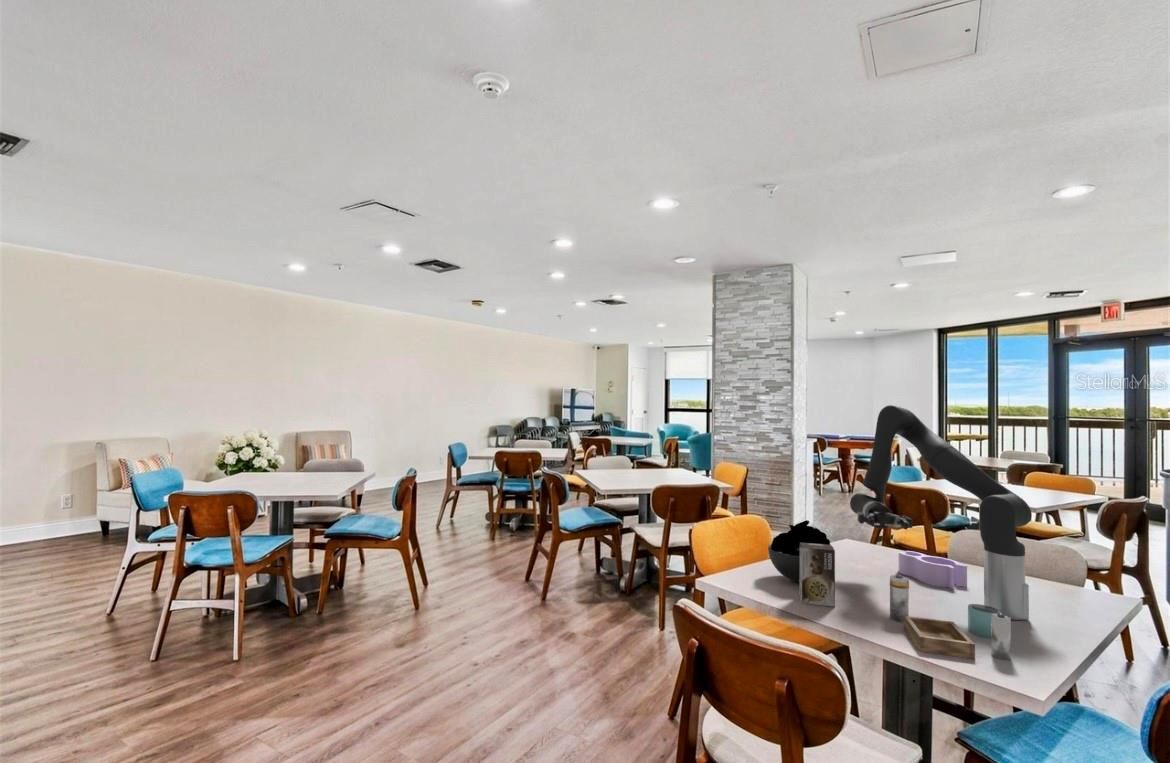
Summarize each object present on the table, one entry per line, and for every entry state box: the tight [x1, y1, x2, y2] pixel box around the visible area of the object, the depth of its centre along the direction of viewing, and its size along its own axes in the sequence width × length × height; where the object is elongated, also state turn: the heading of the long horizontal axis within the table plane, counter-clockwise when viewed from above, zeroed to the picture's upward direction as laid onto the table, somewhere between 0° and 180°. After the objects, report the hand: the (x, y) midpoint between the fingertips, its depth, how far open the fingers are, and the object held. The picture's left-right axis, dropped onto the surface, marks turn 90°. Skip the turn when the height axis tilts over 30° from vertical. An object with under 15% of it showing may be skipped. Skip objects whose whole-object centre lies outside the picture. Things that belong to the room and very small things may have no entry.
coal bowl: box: [767, 519, 831, 583], centre depth 178 cm, size 20×20×19 cm
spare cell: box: [990, 613, 1012, 661], centre depth 126 cm, size 4×4×10 cm
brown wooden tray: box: [903, 615, 976, 660], centre depth 132 cm, size 11×14×3 cm
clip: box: [898, 550, 968, 590], centre depth 185 cm, size 20×12×7 cm, turn 24°
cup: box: [967, 603, 1002, 639], centre depth 140 cm, size 7×7×6 cm
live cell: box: [889, 574, 910, 623], centre depth 147 cm, size 4×4×12 cm
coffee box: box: [798, 543, 836, 608], centre depth 159 cm, size 9×6×16 cm
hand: (889, 524), depth 159 cm, fingers open, 8 cm apart
